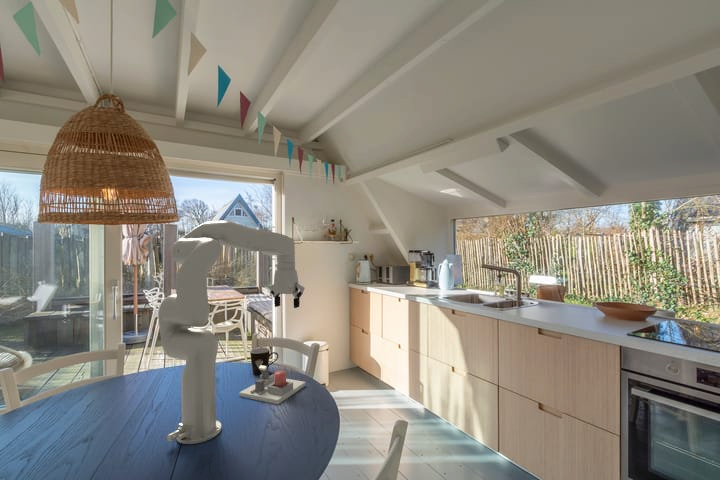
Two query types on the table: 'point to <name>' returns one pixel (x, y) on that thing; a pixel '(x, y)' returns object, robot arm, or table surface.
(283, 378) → the button
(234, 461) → the table surface
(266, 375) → the lever
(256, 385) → the slider
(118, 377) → the table surface
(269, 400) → the panel
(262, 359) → the coffee mug
